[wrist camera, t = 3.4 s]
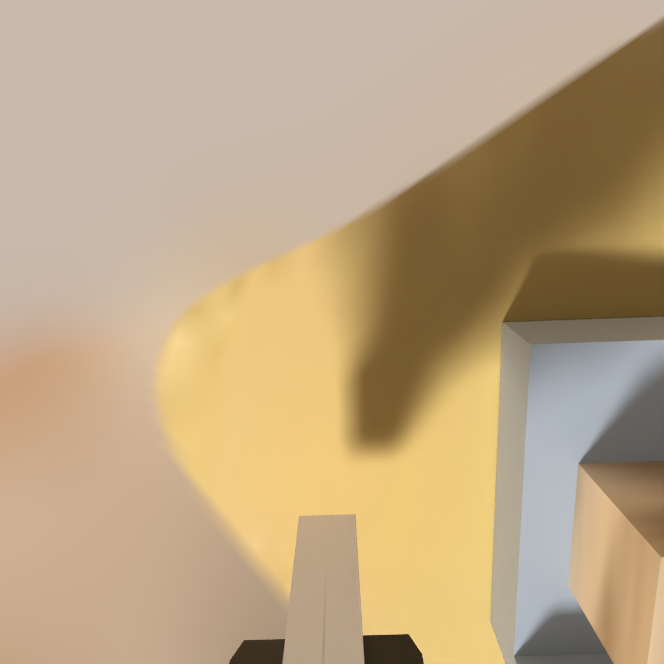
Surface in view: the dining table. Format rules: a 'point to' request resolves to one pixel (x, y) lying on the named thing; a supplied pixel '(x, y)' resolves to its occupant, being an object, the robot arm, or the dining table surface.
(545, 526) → the tray
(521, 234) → the dining table surface
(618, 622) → the oak block
